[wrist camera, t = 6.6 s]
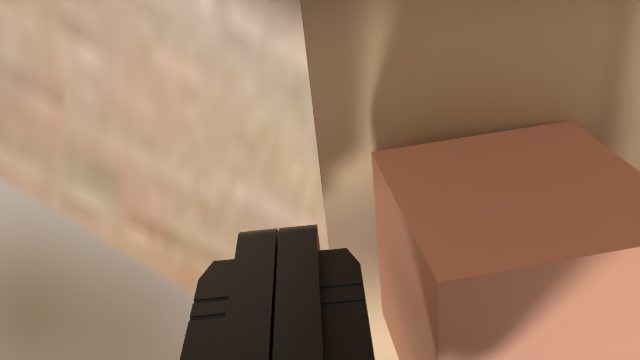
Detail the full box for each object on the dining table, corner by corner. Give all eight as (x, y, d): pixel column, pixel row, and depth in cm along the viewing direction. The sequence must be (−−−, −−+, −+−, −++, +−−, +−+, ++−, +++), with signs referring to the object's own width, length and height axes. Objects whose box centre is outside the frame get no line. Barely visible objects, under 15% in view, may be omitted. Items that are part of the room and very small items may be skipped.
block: (370, 152, 11) (437, 283, 8) (571, 120, 12) (720, 232, 8) (381, 311, 13) (439, 473, 10) (553, 280, 14) (667, 426, 10)
